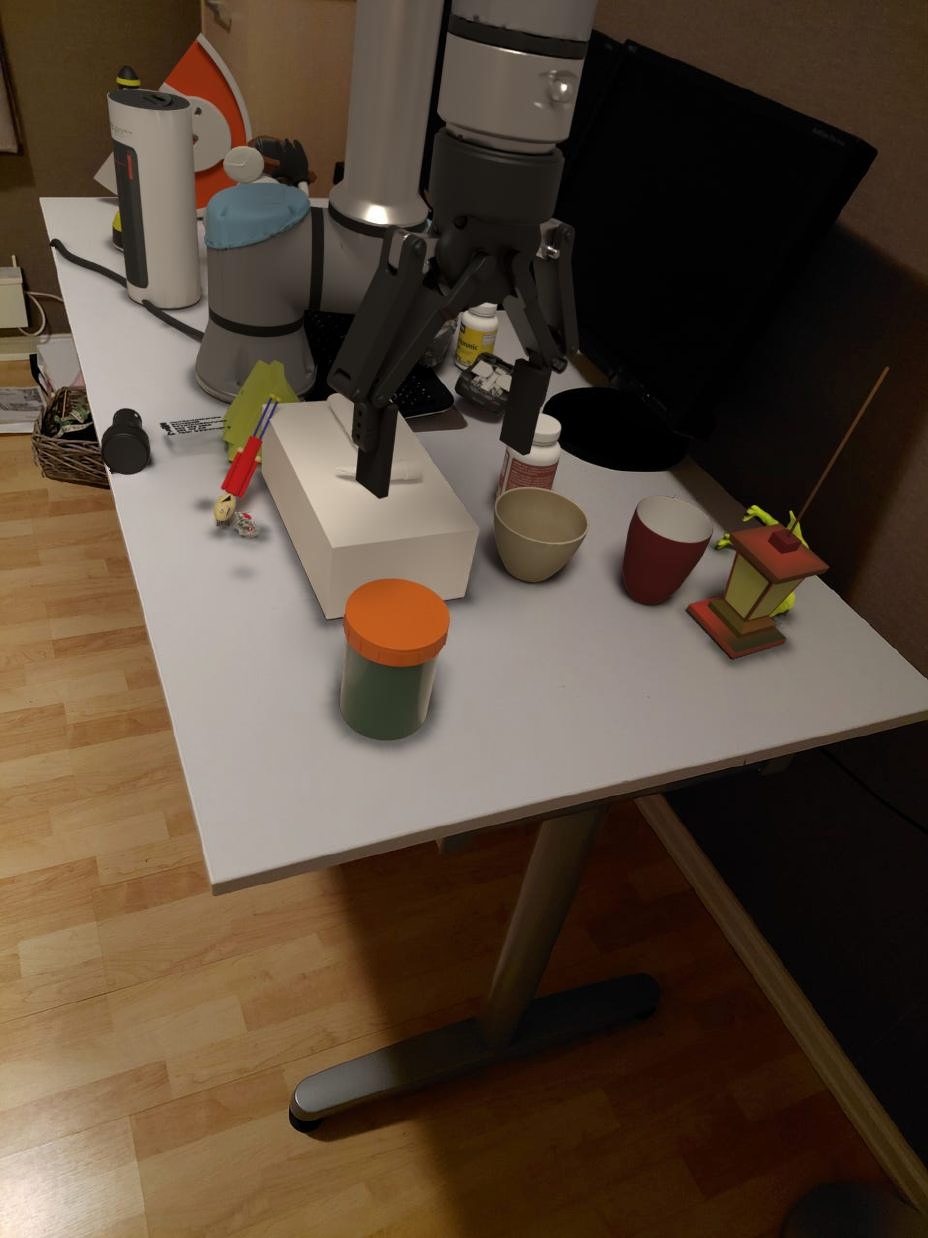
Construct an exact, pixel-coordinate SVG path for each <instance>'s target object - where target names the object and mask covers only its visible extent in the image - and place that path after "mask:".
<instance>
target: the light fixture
mask: <svg viewBox="0 0 928 1238" xmlns="http://www.w3.org/2000/svg"><path fill="white" fill-rule="evenodd" d="M889 370H890V367H889V366H885V368H884V369H883V371H882V373H881V375H880V376H879V378H878V380H877V381H876V383H875V384H874V386H873V388H872V390H871V392H870V393H869V395H868V397H867V398H866V400H865V402H864V403H863V405H862V407H861V409H860V410H859V412H858V413H857V416H856V417H855V419H854V420H853V422H852V423H851V426H850V428H849V429H848V431H847V432H846V434H845V436H844V438H843V439H842V441H841V442H840V445H839V446H838V447H837V449H836V451H835V453H834V454H833V456H832V458H831V460H830V462H829V463H828V464H827V467H826V468H825V470H824V472H823V473H822V475H821V477H820V478H819V480H818V481H817V483H816V485H815V488H813V490H812V492H811V494H810V496H809V497H808V499H807V501H806V502H805V504H804V505H803V507H802V509H801V511H800V512H799V514H798V516H797V517H796V521H795V523H794V524H793V526H792V528H791V529H790V530H789V529H786V528H787V527H786V526H784V524H782V523H781V522H778V524H773V525H768V526H767V525H764V526H758V527H753V528H748V529H747V528H746V529H743V530H742V529H741V530H737V531H733V532H730V533H729V534H730V536H729V539H728V540H729V541H730V542H731V543H732V544H731V545H733V546H734V547H735V548H736V551H735V554H734V559H733V561H732V566H731V569H730V571H729V575H728V579H727V583H726V586H725V588H724V592H723V595H720V596H716V597H712V598H708V599H704V600H700V601H696V602H692V603H689V604H688V605H687V607H686V610H687V611H688V612H689V613H690V615H691V616H692V617H693V618H694V619H695V620H696V621H697V622H698V623H699V624H700V625H701V626H702V628H703V629H705V631H706V632H707V633H708V634H709V635H710V637H712V638H713V640H714V641H715V642H716V643H717V644H718V645H719V646H720V647H721V648H722V649H723V650H724V652H726V654H727V655H729V657H731V659H736V658H739V657H743V656H746V655H749V654H753V653H757V652H759V651H763V650H767V649H771V648H774V647H778V646H780V645H784V644H785V643H786V641H787V637H786V636H785V635H784V634H783V633H782V632H781V631H780V630H779V629H778V628H777V627H776V626H777V623H776V622H775V621H774V620H773V618H772V617H769V616H770V615H771V614H772V613H773V611H774V610H775V609H776V608H777V607H778V606H779V605H780V604H781V603H782V602H783V601H784V600H785V599H786V598H787V597H788V596H789V595H790V594H791V593H792V592H795V590H796V588H798V587H799V586H800V585H801V584H802V582H803V581H805V579H807V578H811V577H815V576H820V575H823V574H825V573H826V572H827V571H828V570H829V569H830V568H831V567H830V566H829V565H828V564H827V563H826V562H825V561H824V560H822V559H821V558H820V557H819V556H818V555H817V554H815V553H814V552H813V551H812V550H811V549H810V548H808V547H809V546H808V547H806V546H805V545H804V544H803V543H802V541H801V540H800V539H799V538H798V537H797V536H796V535H795V534H793V533H792V532H793V530H794V529H795V527H796V525H797V524H798V522H799V523H800V521H801V518H802V516H803V515H804V514H805V512H806V510H807V508H808V507H809V505H810V503H811V501H812V500H813V499H814V497H815V495H816V493H817V491H818V490H819V488H820V486H821V484H822V483H823V481H824V480H825V478H826V476H827V474H828V473H829V471H830V469H831V468H832V466H833V465H834V463H835V462H836V460H837V458H838V456H839V455H840V452H841V451H842V449H843V448H844V446H845V444H846V442H847V441H848V439H849V438H850V436H851V434H852V432H853V431H854V429H855V427H856V426H857V424H858V422H859V421H860V418H861V417H862V415H863V414H864V413H865V411H866V410H867V409H866V408H867V407H868V405H869V404H870V402H871V401H872V398H873V397H874V395H875V393H876V392H877V390H878V388H879V387H880V385H881V384H882V382H883V380H884V378H885V377H886V375H887V374H888V371H889Z"/></svg>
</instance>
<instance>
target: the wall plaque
mask: <svg viewBox="0 0 928 1238" xmlns="http://www.w3.org/2000/svg"><path fill="white" fill-rule="evenodd" d="M157 91H158V92H163V93H168V94H173V95H177V96H180V97H183V98H185V99H186V100H188V101H189V102H190V103H191V113H192V132H193V152H194V172H195V191H196V210H197V218H203V213H204V211H205V209H206V208H207V205H208V203H209V201H210V199H211V198H212V197H213V196H214V195H215V194H216V193H218V192H220V191H221V190H224V189H226V188H229V187H232V186H236V185H240V184H241V183H238V182H235V181H233V180H232V179H230V178H229V177H228V176H227V174H226V173H225V171H224V166H223V162H224V160H225V157H226V155H227V154H228V153H229V151H230V150H232V149H233V148H236V147H239V146H247V147H248V145H247V143H248V142H249V141H250V140H252V139H254V134H253V133H254V132H253V127H252V123H251V122H252V121H251V117H250V114H249V111H248V107H247V105H246V102H245V98H244V97H243V95H242V92H241V89H240V88H239V85H238V84H237V82H236V80H235V78H234V76H233V74H232V73H231V70H230V69H229V67H228V66H227V64H226V63H225V61H224V60H223V58H222V57H221V56H220V54H219V53H218V52H217V50H216V49H215V48H214V47H213V45H212V44H211V43H210V41H209V40H208V39H207V38H206V37H205V36H204V35H203V33H202V32H200V33H199V34H198V35H197V36H196V38H195V40H194V41H193V42H192V43H191V45H190V46H189V48H188V49H187V51H185V53H184V55H183V56H181V58H180V60H179V61H178V62H177V64H176V65H175V66H174V68H173V69H172V71H171V72H170V73H169V75H168V76H167V77H166V79H165V80H164V81H163V83H162V84H161V86H160V87H159V88H158V89H157ZM93 180H95V181H97V183H99V184H100V185H102V186H103V187H104V188H105V189H107V190H109V191H110V192H112V193H113V194H114V195H116V196H117V197H118V194H117V184H116V174H115V165H114V155H113V151H112V152H110V154H109V155H108V157H107V159H106V160H105V161H104V162H103V164H102V165H101V167H100V168H99V169H98V171H97V172H96V173H95V175H94V177H93Z"/></svg>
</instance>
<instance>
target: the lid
mask: <svg viewBox="0 0 928 1238" xmlns="http://www.w3.org/2000/svg"><path fill="white" fill-rule="evenodd" d="M342 618H343V619H342V628H343V632H344V636H345V639H346V638H347V641H348V642H349V644H350V645H351V646H352V647H353V648H354V649H355V650H356V651H357V652H358V653H359V654H361V655H362V656H364V657H365V658H367V659H369V660H371V661H374V662H376V663H379V664H383V665H387V666H395V667H406V666H414V665H419V664H422V663H424V662H427V661H429V660H430V659H432V658H433V657H436V655H437V654H438V653H439V654H440V652H442V650H443V648H444V646H446V644H447V640H448V635H449V634H448V632H449V628H450V623H451V615H450V611H449V609H448V606H447V604H446V603H445V600H442V599H441V598H440V597H439V596H438V595H437V594H436V593H435V592H434V591H432V590H431V589H429V588H427V587H425V586H423V585H421V584H419V583H416V582H413V581H408V580H403V579H393V578H392V579H379V580H375V581H371V582H368V583H366V584H364V585H362V586H360V587H358V588H357V589H356V590H355V591H354V592H353V593H352V594H351V595H350V597H349V598H348V600H347V603H346V607H345V614H344V617H342Z"/></svg>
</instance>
